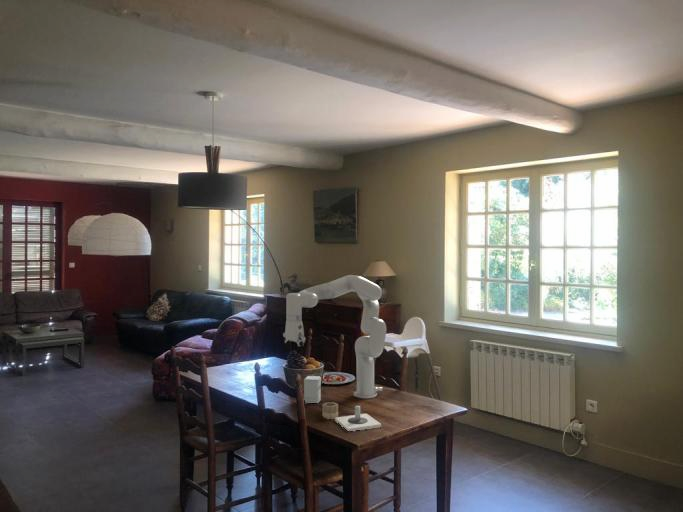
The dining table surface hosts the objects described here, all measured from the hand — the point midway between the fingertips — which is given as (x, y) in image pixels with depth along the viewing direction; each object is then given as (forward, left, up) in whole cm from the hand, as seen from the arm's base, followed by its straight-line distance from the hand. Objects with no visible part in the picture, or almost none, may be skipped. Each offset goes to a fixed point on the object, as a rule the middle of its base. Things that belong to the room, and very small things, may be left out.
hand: (294, 352), depth 271 cm
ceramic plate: (-37, -41, -28) cm, 62 cm away
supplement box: (-12, -6, -28) cm, 31 cm away
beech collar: (-12, +20, -28) cm, 36 cm away
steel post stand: (-20, +34, -28) cm, 48 cm away
